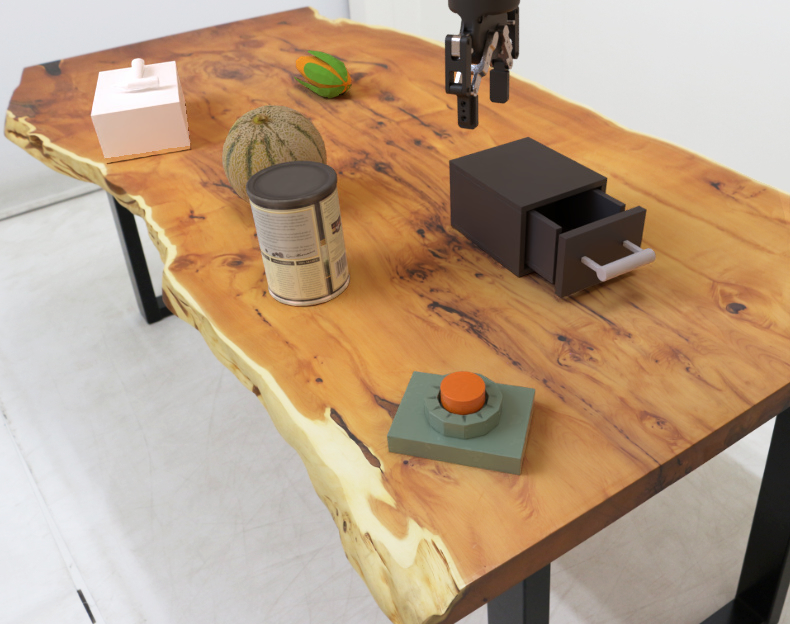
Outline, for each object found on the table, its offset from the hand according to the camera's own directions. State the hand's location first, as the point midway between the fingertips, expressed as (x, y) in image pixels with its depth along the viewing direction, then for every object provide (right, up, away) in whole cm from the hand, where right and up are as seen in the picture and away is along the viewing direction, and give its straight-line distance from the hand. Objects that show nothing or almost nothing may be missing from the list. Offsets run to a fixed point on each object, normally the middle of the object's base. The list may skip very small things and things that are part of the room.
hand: (484, 114), depth 82 cm
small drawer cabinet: (+7, -13, +12) cm, 19 cm away
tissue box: (-56, +11, +52) cm, 78 cm away
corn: (-25, +23, +65) cm, 73 cm away
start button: (-4, -31, -17) cm, 35 cm away
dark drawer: (+11, -17, +5) cm, 21 cm away
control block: (-4, -34, -15) cm, 37 cm away
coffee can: (-21, -19, +7) cm, 29 cm away
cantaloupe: (-27, -7, +25) cm, 37 cm away
